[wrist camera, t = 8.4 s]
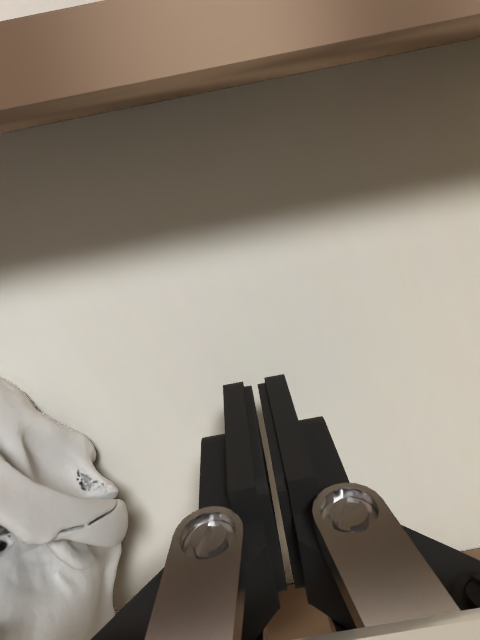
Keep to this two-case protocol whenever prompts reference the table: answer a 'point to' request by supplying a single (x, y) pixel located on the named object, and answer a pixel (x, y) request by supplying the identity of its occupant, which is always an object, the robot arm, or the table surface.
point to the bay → (205, 80)
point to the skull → (53, 528)
